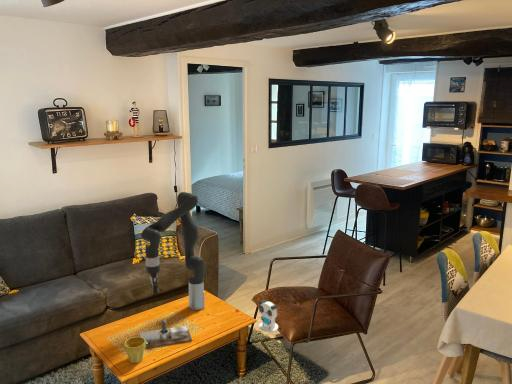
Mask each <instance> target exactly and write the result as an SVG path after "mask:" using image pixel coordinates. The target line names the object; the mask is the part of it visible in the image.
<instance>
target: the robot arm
mask: <svg viewBox="0 0 512 384" xmlns="http://www.w3.org/2000/svg"><path fill="white" fill-rule="evenodd" d="M198 200H199V198H198V196H197V195H196V194H194V193H191V192H185V191H182V192H179V193H178V195H177V198H176V205H177V207H176V208H174V209H172V210H169V211H168V212H166V213H164V214H163V215H162V216H161V217H160V218H159V219H158V220H156V221H155V222H153V223H151V224H149V225H147V226H146V227H145V228H144V229H143V230H142V232H141V239H142V240H143V241H146V242H149V245H146V246H145V271H146V273H147V274H149V280H150V284H151V285H150V286H151V288H152V294H153V295H157V294H158V288H159V285H158V283H159V281H158V277H159V276H158V273H160V271H161V264H160V263H161V261H160V260H161V259H160V253H159V247H160V242H161V233H163V232H166V231H167V230H168V229H169V228H170V227H171V226H172V225H173V224H174V223H175V222H176V221H178V220H179V219H180V223H181V230H182V237H183V245H184V246H183V247H184V263H185V268H186V269H187V270H188V271H190V272H194V274H191V275H190V276H189V277H188V308H189V309H190V310H192V311H200V310H202V309H205V305H206V304H205V302H206V301H205V293H204V292H205V289H204V288H205V287H204V286H205V285H204V283H205V282H204V279H205V272H206V263H205V262H206V261H205V258H202V257H199V256H196V255H195V246H196V244H197V242H198V240H199V229H198V224H197V223H196V221H195V220H194V218H193V216H192V214H191V212H190V211H192V210H193V209H194V208H195V207H196V206H197V205H198V202H199V201H198Z"/></svg>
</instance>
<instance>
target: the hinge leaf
mask: <svg viewBox="0 0 512 384" xmlns="http://www.w3.org/2000/svg"><path fill="white" fill-rule="evenodd" d="M166 331H167V333H162V328H161V329H156V330H147V331H143V332H141V331H140V332H139V337H142V338H144V339H145V341H147V342H148V343H152V342H158V341H167V340H169V339H170V328H166Z"/></svg>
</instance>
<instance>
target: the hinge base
mask: <svg viewBox="0 0 512 384" xmlns="http://www.w3.org/2000/svg"><path fill="white" fill-rule="evenodd" d="M161 329H162V333H167V331H166V329H167V320H166V319H163V320H161ZM169 330H170V339H169V340H167V341H158V342H152V343H148V344H146V347H145V348H146V349H150V348H149V347H152V348H156V347H157V346H159V347H164V346H163V345H165V346H170V344H171V345H176V344H183V343H188V342H193V340H192V338H193V337H192V336H191V333H190V330H189V328H188V325H182V326H174V327H170V328H169ZM157 348H158V347H157Z"/></svg>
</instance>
